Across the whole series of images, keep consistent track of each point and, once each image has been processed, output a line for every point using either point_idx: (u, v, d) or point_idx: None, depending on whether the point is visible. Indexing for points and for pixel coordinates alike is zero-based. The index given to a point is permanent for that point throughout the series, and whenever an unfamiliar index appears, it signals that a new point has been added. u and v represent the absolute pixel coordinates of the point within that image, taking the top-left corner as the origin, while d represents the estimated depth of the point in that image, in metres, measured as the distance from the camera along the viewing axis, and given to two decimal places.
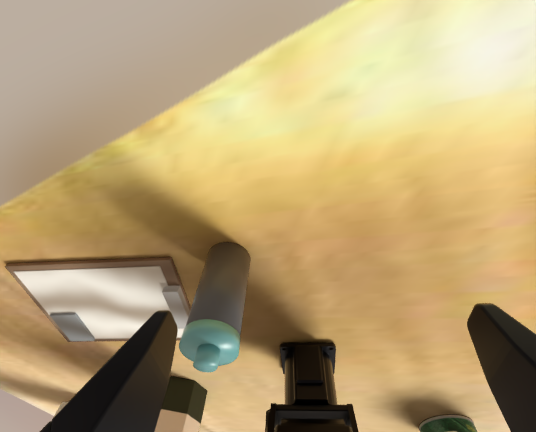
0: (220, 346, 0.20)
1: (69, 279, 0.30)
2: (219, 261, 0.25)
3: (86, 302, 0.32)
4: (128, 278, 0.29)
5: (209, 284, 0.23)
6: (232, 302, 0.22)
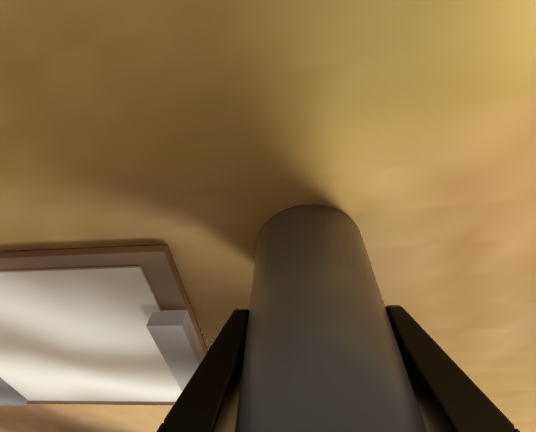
0: None
1: None
2: (309, 253, 0.08)
3: None
4: (69, 295, 0.13)
5: (301, 333, 0.06)
6: (409, 413, 0.05)
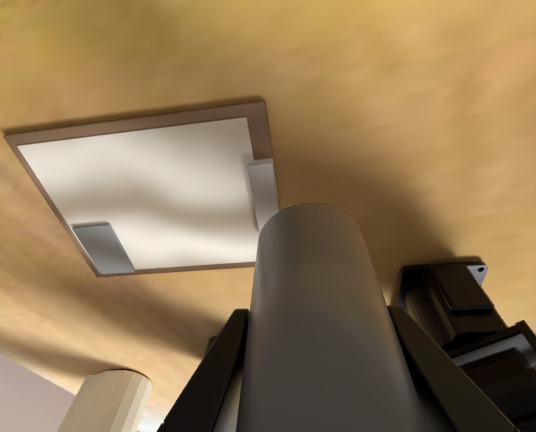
0: None
1: (101, 158, 0.20)
2: (311, 251, 0.08)
3: (125, 201, 0.21)
4: (192, 148, 0.19)
5: (303, 331, 0.06)
6: (412, 411, 0.05)
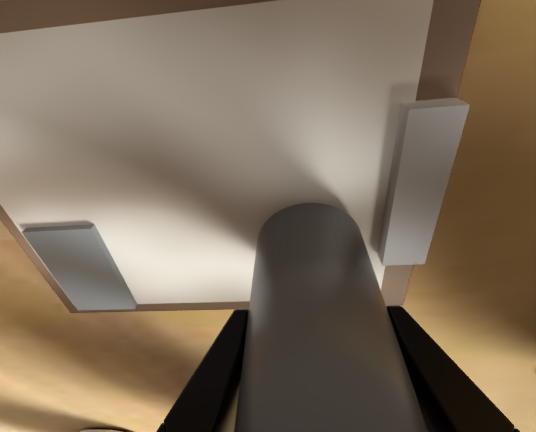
0: None
1: (77, 85, 0.09)
2: (309, 250, 0.08)
3: (127, 184, 0.11)
4: (286, 66, 0.08)
5: (301, 330, 0.06)
6: (410, 411, 0.05)
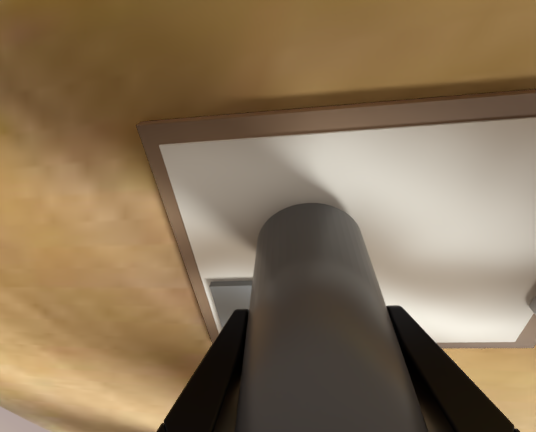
0: None
1: (313, 174, 0.10)
2: (310, 251, 0.08)
3: None
4: (509, 165, 0.10)
5: (302, 331, 0.06)
6: (411, 412, 0.05)
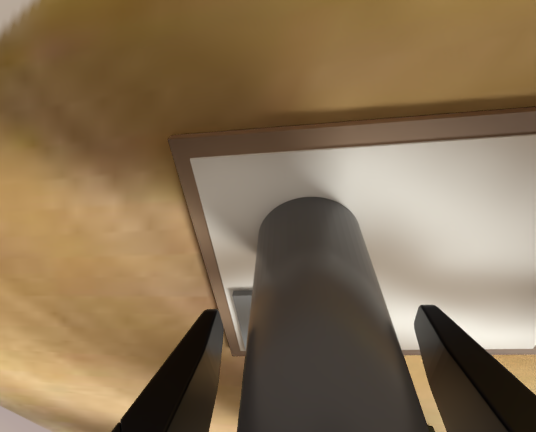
0: None
1: (341, 187, 0.10)
2: (310, 242, 0.09)
3: None
4: None
5: (302, 316, 0.07)
6: (404, 389, 0.06)
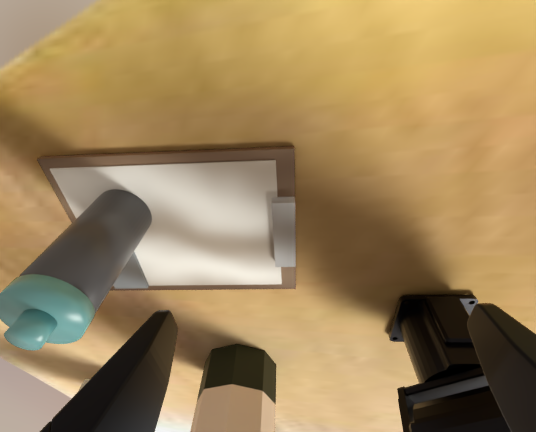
0: (53, 313, 0.14)
1: (131, 185, 0.20)
2: (94, 209, 0.19)
3: None
4: (221, 183, 0.20)
5: (66, 234, 0.17)
6: (89, 256, 0.16)
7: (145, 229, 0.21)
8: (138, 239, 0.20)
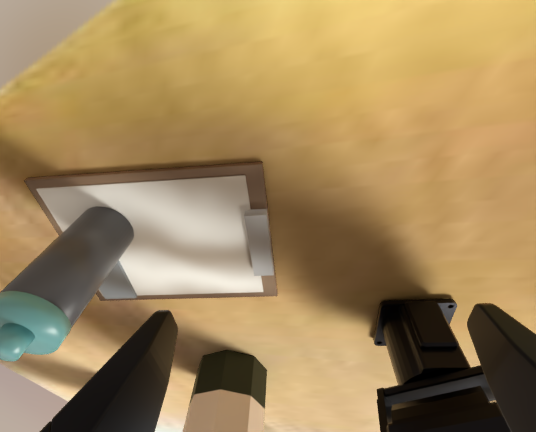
0: (29, 327, 0.15)
1: (112, 202, 0.22)
2: (75, 226, 0.20)
3: None
4: (196, 198, 0.21)
5: (46, 251, 0.18)
6: (66, 272, 0.17)
7: (126, 243, 0.22)
8: (118, 253, 0.21)
